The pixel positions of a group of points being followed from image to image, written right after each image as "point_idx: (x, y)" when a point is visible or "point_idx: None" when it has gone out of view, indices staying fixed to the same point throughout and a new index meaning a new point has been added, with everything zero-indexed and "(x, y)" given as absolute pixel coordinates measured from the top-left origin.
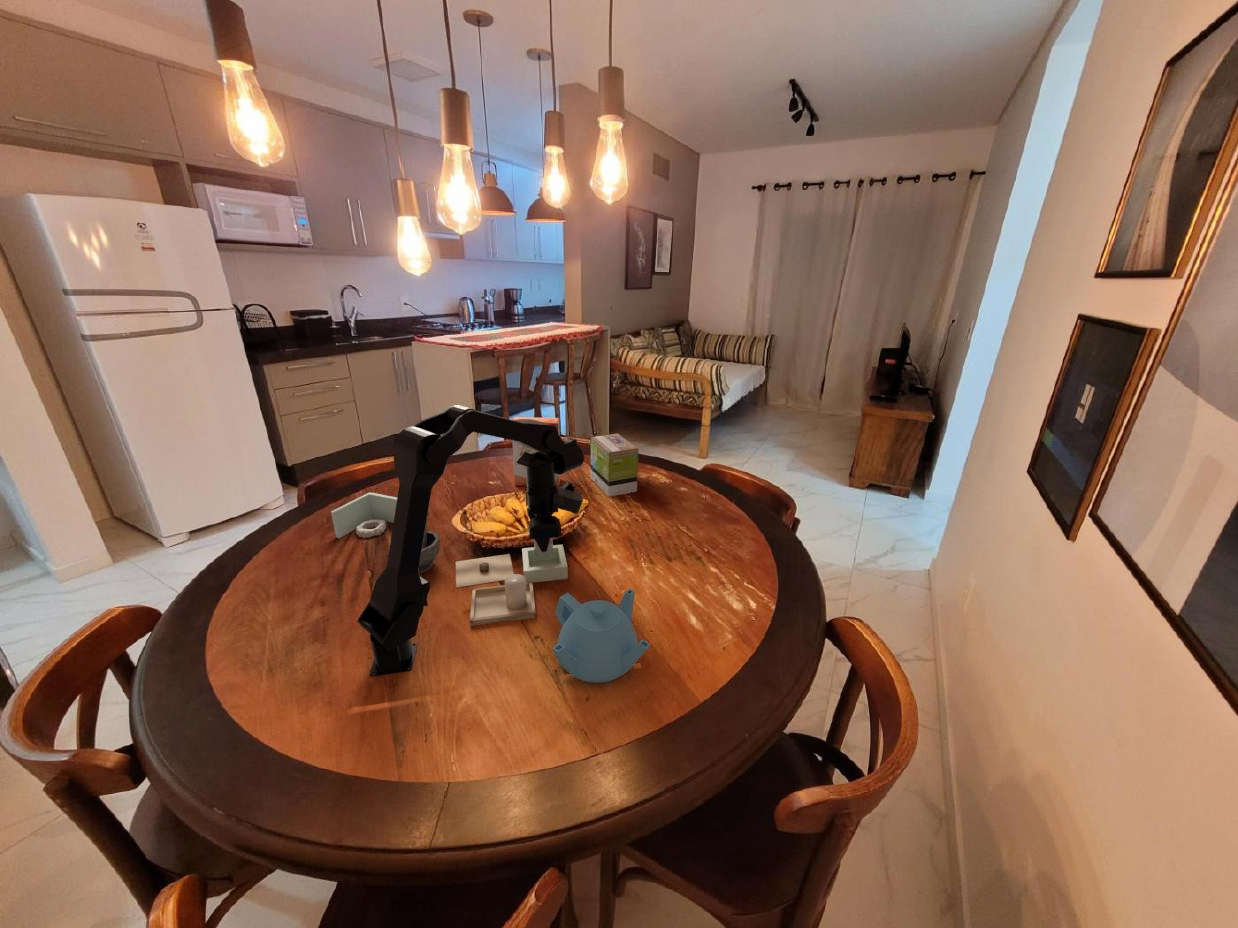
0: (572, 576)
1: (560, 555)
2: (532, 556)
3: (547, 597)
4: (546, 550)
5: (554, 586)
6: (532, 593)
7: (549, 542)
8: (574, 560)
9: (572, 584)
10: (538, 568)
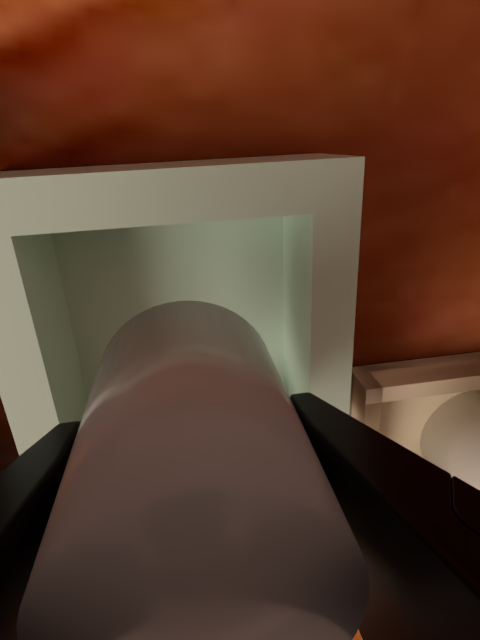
0: (274, 111)
1: (163, 214)
2: (77, 414)
3: (448, 287)
4: (319, 401)
5: (360, 246)
6: (473, 381)
7: (291, 415)
8: (41, 65)
9: (369, 121)
10: (333, 387)
